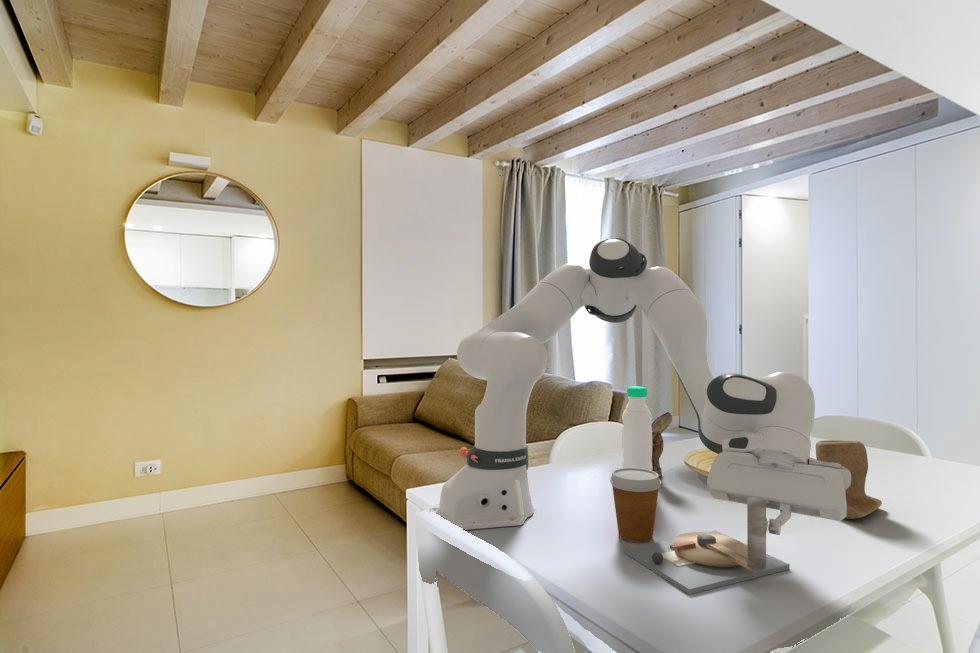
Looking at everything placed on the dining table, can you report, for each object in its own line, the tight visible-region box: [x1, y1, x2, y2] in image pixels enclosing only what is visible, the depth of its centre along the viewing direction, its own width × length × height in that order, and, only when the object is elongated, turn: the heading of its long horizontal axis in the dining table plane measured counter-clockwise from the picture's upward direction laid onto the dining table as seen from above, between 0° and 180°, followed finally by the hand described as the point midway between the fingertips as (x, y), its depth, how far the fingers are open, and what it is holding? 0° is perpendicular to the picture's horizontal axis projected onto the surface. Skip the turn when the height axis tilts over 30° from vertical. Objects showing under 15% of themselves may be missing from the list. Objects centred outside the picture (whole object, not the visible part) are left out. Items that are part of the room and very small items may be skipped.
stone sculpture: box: [651, 411, 673, 478], centre depth 145 cm, size 9×14×18 cm, turn 27°
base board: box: [624, 529, 790, 595], centre depth 94 cm, size 21×16×3 cm
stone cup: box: [815, 439, 883, 520], centre depth 119 cm, size 15×12×15 cm
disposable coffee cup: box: [609, 467, 662, 543], centre depth 105 cm, size 10×10×12 cm
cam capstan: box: [670, 497, 767, 572], centre depth 92 cm, size 17×13×12 cm
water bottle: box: [621, 385, 653, 471], centre depth 133 cm, size 7×7×25 cm
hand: (767, 531), depth 86 cm, fingers closed
